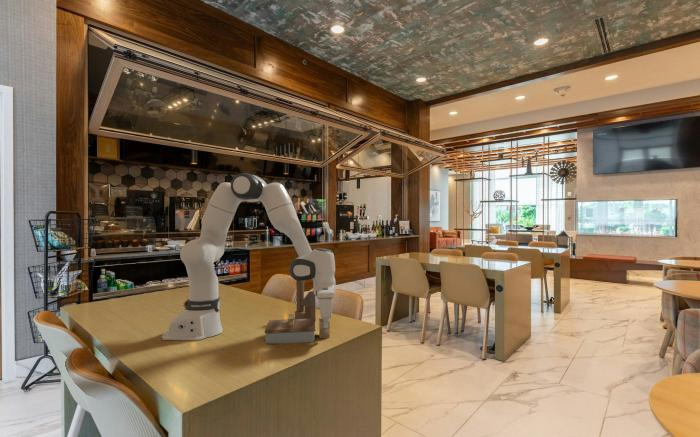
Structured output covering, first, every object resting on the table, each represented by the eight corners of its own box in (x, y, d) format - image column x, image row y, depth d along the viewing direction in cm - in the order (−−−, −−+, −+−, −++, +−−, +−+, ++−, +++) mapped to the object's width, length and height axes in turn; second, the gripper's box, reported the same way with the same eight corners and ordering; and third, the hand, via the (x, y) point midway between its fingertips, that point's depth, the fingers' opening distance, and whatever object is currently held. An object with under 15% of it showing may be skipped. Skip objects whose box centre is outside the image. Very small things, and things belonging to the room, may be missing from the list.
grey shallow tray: (265, 344, 127) (265, 333, 127) (269, 333, 139) (269, 323, 139) (314, 341, 129) (314, 331, 130) (314, 331, 141) (314, 322, 141)
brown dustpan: (309, 323, 153) (309, 283, 153) (294, 319, 160) (294, 280, 160) (316, 321, 156) (315, 282, 156) (300, 317, 163) (300, 279, 163)
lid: (264, 333, 127) (264, 321, 127) (269, 323, 140) (268, 312, 140) (315, 331, 129) (315, 319, 129) (314, 321, 142) (314, 311, 142)
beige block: (319, 338, 134) (319, 321, 134) (319, 334, 138) (319, 318, 138) (329, 337, 134) (329, 321, 134) (329, 334, 138) (329, 318, 138)
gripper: (316, 284, 146) (317, 317, 146) (317, 294, 126) (318, 332, 126) (331, 283, 147) (331, 316, 147) (334, 293, 126) (335, 331, 126)
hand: (325, 323), depth 136 cm, fingers open, 8 cm apart
